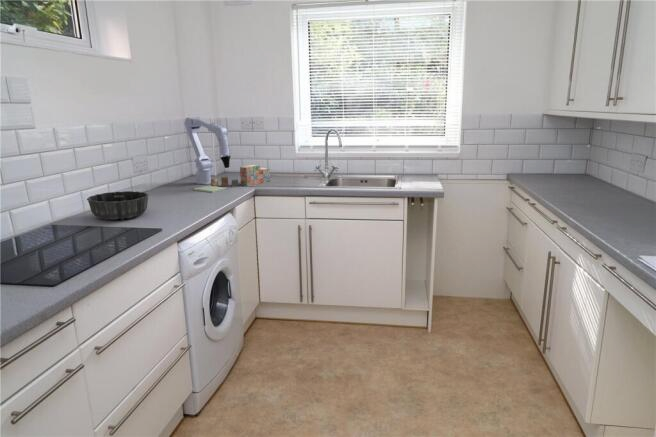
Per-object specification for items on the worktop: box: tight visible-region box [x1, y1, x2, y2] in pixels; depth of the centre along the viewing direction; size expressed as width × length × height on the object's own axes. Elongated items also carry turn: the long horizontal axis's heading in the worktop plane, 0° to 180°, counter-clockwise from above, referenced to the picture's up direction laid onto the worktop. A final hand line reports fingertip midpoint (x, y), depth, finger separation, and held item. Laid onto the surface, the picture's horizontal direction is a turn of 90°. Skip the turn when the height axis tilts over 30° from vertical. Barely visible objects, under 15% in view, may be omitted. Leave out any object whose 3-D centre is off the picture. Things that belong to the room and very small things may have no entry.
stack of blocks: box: [239, 164, 271, 187], centre depth 294 cm, size 21×6×12 cm, turn 143°
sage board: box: [192, 185, 227, 193], centre depth 272 cm, size 16×12×1 cm
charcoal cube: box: [230, 178, 239, 187], centre depth 285 cm, size 4×4×4 cm
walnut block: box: [220, 176, 229, 188], centre depth 283 cm, size 4×4×6 cm
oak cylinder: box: [210, 178, 219, 187], centre depth 282 cm, size 4×4×5 cm
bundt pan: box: [86, 190, 150, 221], centre depth 207 cm, size 26×26×10 cm
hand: (227, 167), depth 280 cm, fingers open, 7 cm apart
